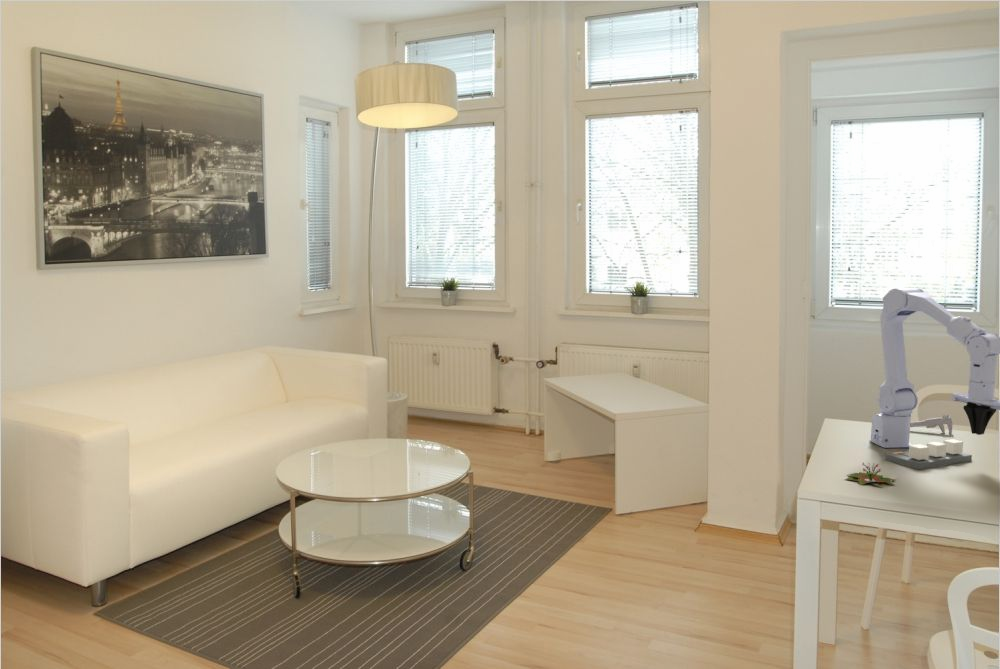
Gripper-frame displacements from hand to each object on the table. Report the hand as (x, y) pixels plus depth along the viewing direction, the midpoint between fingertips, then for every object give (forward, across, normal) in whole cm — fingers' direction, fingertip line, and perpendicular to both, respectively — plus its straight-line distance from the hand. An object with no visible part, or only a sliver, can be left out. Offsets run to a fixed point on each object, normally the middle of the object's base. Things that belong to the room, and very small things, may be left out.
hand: (977, 433), depth 213 cm
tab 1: (+6, +7, +7) cm, 11 cm away
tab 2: (+6, +7, 0) cm, 9 cm away
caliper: (+9, +32, -18) cm, 38 cm away
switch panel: (+8, +8, +6) cm, 14 cm away
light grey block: (+6, +7, +13) cm, 16 cm away
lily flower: (+9, +2, +35) cm, 37 cm away
